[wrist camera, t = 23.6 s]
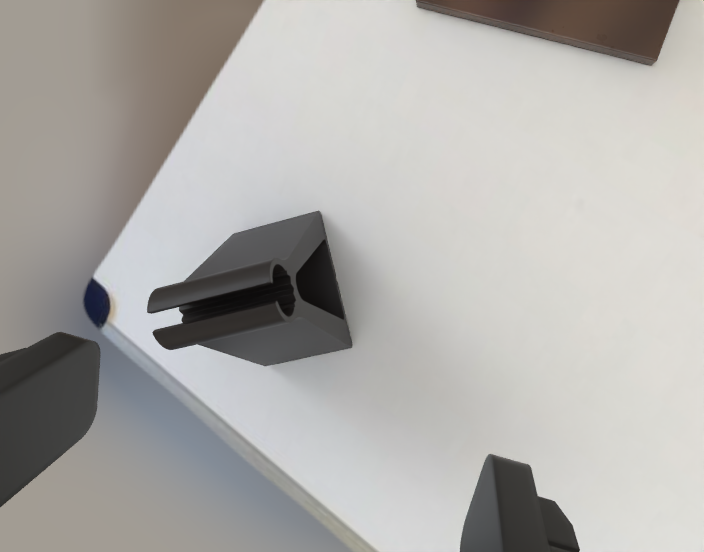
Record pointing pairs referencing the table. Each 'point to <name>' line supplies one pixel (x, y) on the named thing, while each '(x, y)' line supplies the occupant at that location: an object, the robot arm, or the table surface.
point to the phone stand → (261, 296)
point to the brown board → (576, 22)
